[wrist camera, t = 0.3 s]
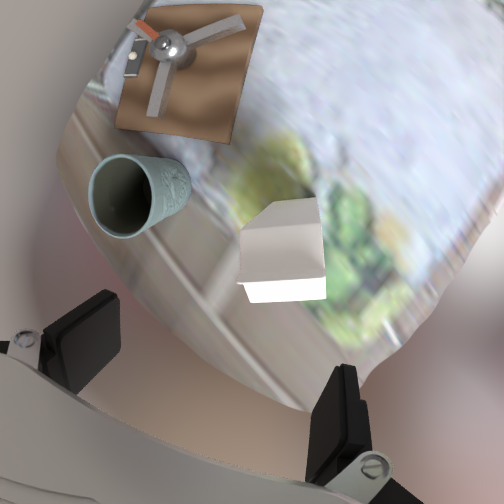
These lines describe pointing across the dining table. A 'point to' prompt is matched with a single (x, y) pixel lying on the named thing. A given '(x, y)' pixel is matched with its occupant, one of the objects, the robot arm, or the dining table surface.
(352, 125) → the dining table surface
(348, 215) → the dining table surface
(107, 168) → the grey-green cup
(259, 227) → the milk
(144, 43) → the level window
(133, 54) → the level ball
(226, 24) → the capstan
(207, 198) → the dining table surface
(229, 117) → the board
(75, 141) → the dining table surface
